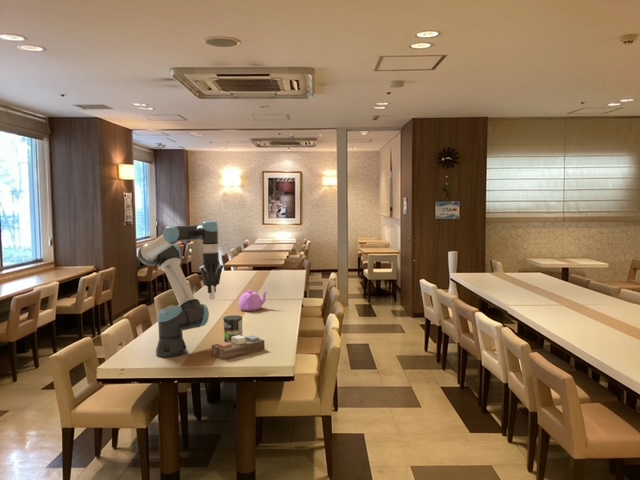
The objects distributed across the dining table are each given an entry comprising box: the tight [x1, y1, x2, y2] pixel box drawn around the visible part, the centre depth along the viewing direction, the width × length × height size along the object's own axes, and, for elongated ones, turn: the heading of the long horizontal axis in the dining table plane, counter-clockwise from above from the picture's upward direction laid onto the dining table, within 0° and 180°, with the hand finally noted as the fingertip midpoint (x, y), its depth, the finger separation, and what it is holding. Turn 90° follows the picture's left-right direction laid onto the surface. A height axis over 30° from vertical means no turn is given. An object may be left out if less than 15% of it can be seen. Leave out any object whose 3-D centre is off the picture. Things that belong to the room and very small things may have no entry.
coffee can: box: [223, 315, 244, 342], centre depth 274 cm, size 10×10×14 cm
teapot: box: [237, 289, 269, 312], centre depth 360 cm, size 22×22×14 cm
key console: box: [211, 338, 266, 361], centre depth 257 cm, size 12×24×5 cm, turn 133°
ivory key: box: [231, 335, 246, 345], centre depth 257 cm, size 6×4×3 cm
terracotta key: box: [216, 341, 231, 349], centre depth 251 cm, size 6×4×3 cm
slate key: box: [244, 334, 260, 342], centre depth 262 cm, size 6×4×3 cm
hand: (212, 299), depth 252 cm, fingers closed
